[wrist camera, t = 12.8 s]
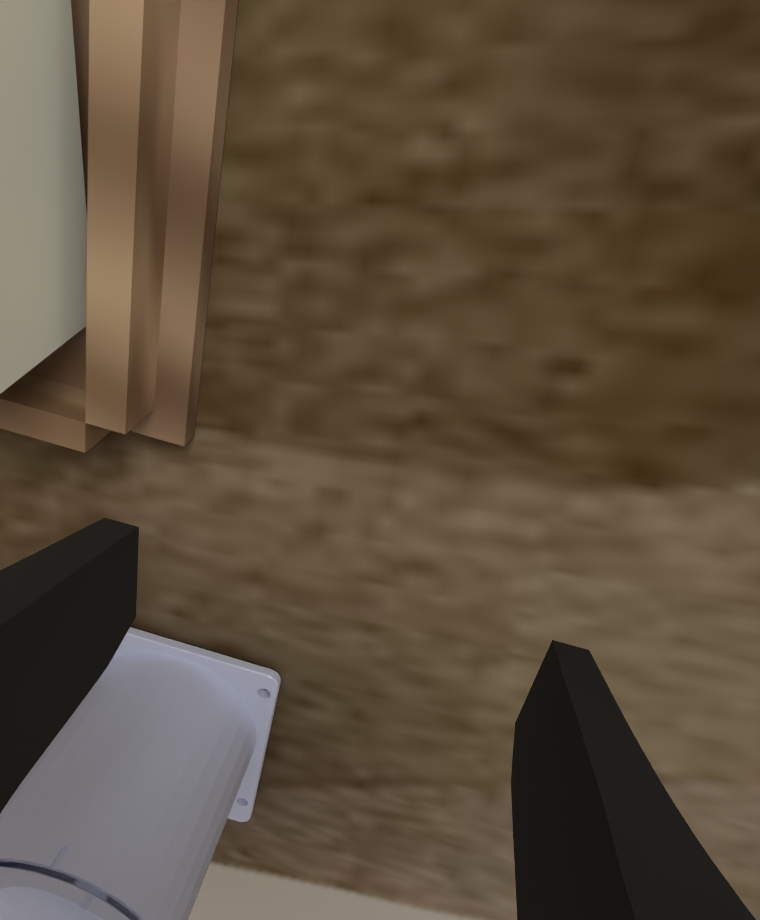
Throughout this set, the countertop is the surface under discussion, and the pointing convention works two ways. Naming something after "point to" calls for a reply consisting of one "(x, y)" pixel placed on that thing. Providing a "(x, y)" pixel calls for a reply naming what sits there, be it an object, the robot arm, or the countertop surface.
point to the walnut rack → (139, 223)
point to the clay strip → (39, 186)
